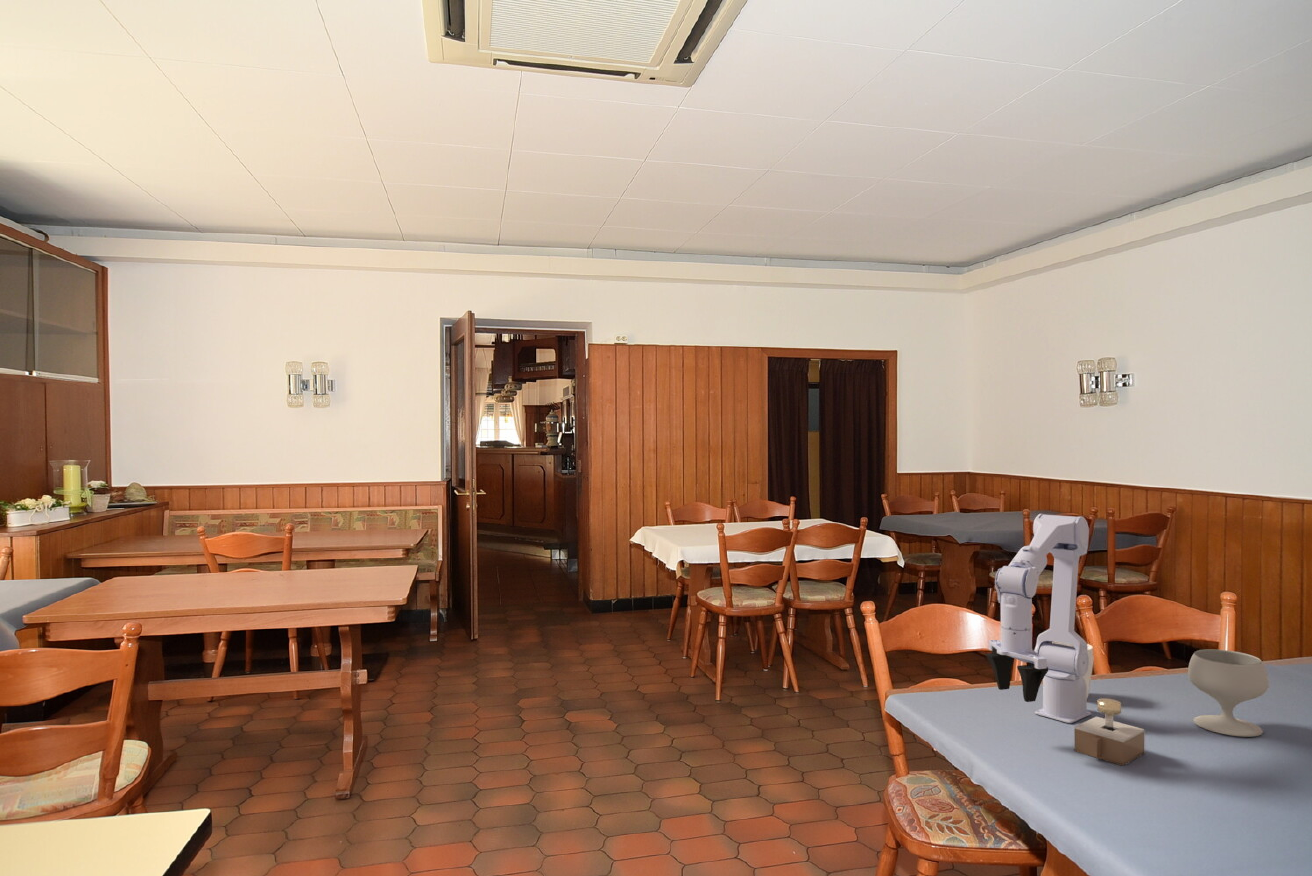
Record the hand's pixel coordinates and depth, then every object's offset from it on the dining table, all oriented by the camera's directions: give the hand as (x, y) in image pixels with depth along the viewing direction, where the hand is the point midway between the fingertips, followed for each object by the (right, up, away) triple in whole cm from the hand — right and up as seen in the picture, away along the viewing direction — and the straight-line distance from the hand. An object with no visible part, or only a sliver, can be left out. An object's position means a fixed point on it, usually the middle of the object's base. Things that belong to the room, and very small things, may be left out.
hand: (1016, 694), depth 164 cm
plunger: (+16, -6, -4) cm, 18 cm away
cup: (+26, -10, +30) cm, 41 cm away
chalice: (+48, -10, +9) cm, 50 cm away
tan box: (+16, -10, -4) cm, 20 cm away
